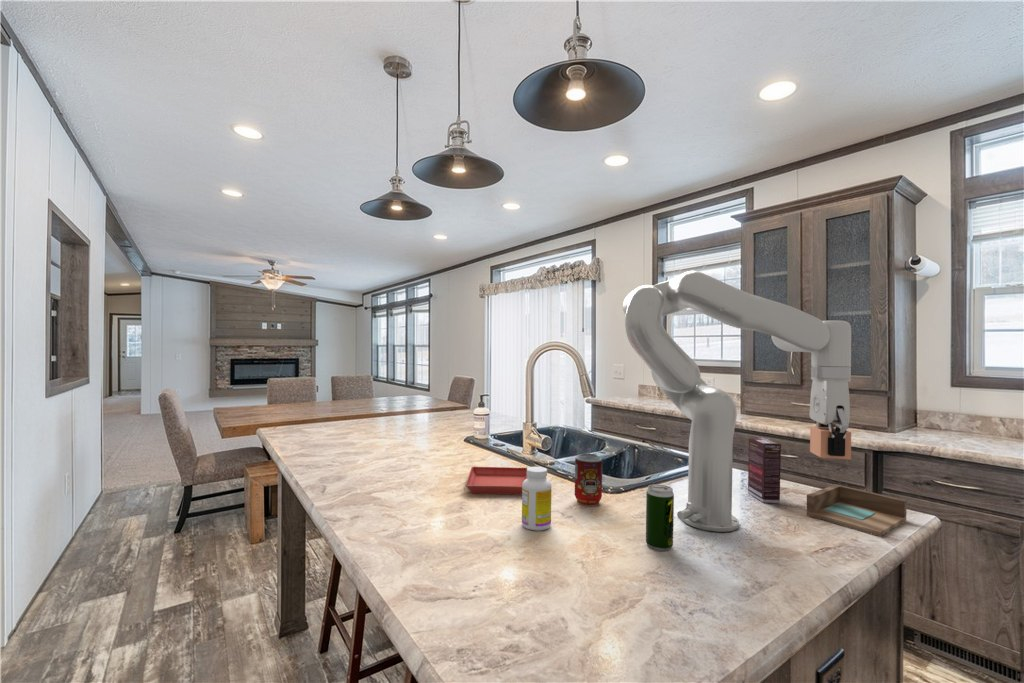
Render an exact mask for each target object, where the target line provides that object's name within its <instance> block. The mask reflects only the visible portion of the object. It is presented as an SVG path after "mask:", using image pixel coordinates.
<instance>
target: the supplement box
mask: <svg viewBox="0 0 1024 683" xmlns="http://www.w3.org/2000/svg"><path fill="white" fill-rule="evenodd" d="M781 450H782V443H779V442H776V441H773V440H771V439H768V438H766V437H757V436H755V437H753V436H751V437H748V463H747V464H748V466H747V468H748V472H747V476H748V477H747V494H749V495H751V496H752V497H754V498H755V499H757V500H759V501H760V502H761V503H766V504H780V503H781V462H782V461H781V460H782V458H781V456H782V453H781V452H782V451H781Z"/></svg>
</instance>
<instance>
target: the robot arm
mask: <svg viewBox="0 0 1024 683" xmlns="http://www.w3.org/2000/svg"><path fill="white" fill-rule="evenodd" d="M622 309H623V310H622V311H623V313H624V315H625V318H624V327H625V333H626V338H627V340H628V342H629V344H630V346H631V347H632V349H633V350H634V352H635V353H636V354H637V355H638V357H639V358H641V360H642V361H643V363H644V364H646V366H647V367H648V369H650V370H651V372H650V373H651V377H652V379H653V381H654V383H655V384H656V386H657V387H658V388H659V389H660V390H661V391H662V392H663V394H664V395H665V396H666V397H667V398H669V400H670V401H671V402H672V403H673V405H675V407H677V409H678V410H679V411H680V412H681V413H682V414H683V415H684V416H685V417H686V418H688V419H689V420H691V425H690V430H689V438H688V471H687V472H688V476H687V477H688V478H687V479H688V480H687V481H688V482H687V484H688V485H687V502H686V505H685V506H686V507H685V509H682V510H679V511H677V514H676V516H677V519H679V520H680V521H682V522H684V523H685V524H687V525H689V526H690V527H693V528H696V529H699V530H703V531H709V532H717V533H726V532H728V533H729V532H733V531H735V530H737V529H739V526H740V521H739V520H738V518H737V517H736V516H734V515H733V511H732V509H733V507H732V506H733V504H732V503H733V466H734V465H733V463H734V462H733V460H734V458H733V451H734V448H733V446H734V434H735V429H736V423H737V415H738V414H737V411H738V410H737V407H736V403H735V401H734V400H733V398H732V397H731V395H730V394H728V392H726V391H724V390H722V389H720V388H716V387H713V386H710V385H708V384H707V383H706V382H705V380H704V379H702V377H701V370H700V368H699V366H698V364H697V363H696V361H695V360H694V359H692V357H691V356H690V355H688V354H687V352H685V351H684V349H682V347H680V345H679V344H678V343H677V342H676V341H674V339H673V338H672V336H670V334H669V332H668V331H667V330H666V329H665V327H664V324H663V320H662V319H663V318H662V317H666V316H668V315H671V314H674V313H678V312H680V311H683V310H686V309H692V310H693V311H695V312H699V313H700V314H704V315H705V316H708V317H710V318H712V319H714V320H716V321H718V322H720V323H723V324H724V325H727V326H729V327H733V328H736V329H740V330H747V331H754V332H759V333H763V334H766V335H768V336H771V341H772V343H773V344H774V346H776V347H777V348H778V349H780V350H782V351H785V352H792V353H793V352H795V353H811V356H810V357H811V361H810V363H811V365H810V366H811V368H810V372H811V373H810V374H811V375H810V376H811V378H810V379H811V381H812V383H811V387H810V388H811V389H810V402H809V419H811V420H812V421H814V423H815V427H829V433H830V437H828V455H830V456H845V439H846V432H847V431H848V428H849V426H850V425H849V424H850V417H851V414H850V413H851V408H850V407H851V405H850V404H851V403H850V401H851V400H850V391H849V389H850V388H849V382H851V381H852V375H851V374H852V372H851V370H852V369H851V368H852V326H851V324H850V322H848V321H846V320H835V319H834V320H833V319H832V320H831V319H830V320H821V319H820V318H818V317H816V316H814V315H812V314H809V313H807V312H805V311H804V310H803V311H802V310H800V309H798V308H796V307H793V306H792V305H788V304H785V303H781V302H779V301H775V300H772V299H768V298H765V297H763V296H759V295H756V294H751V293H749V292H746V291H744V290H742V289H739V288H737V287H736V286H733V285H731V284H728V283H726V282H723V281H722V280H719V279H717V278H714V277H713V276H710V275H709V274H707V273H703V272H701V271H698V270H697V271H696V270H690V271H685V272H682V273H681V274H680V275H677V276H676V277H673V278H671V279H668V280H666V281H663V282H659V283H656V284H653V285H650V284H643V285H641V286H638V287H636V288H635V289H633V290H632V291H630V292H629V293H628V294H627V295H626V296H625V298H624V300H623V302H622ZM834 428H836V429H835V431H834Z"/></svg>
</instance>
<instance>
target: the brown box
mask: <svg viewBox="0 0 1024 683" xmlns="http://www.w3.org/2000/svg"><path fill="white" fill-rule="evenodd" d="M833 428H834V431H835V429H836V427H833ZM809 429H810V430H809V431H810V432H809V435H810V437H809V442H810V443H809V453H812V454H813V455H816V456H817V457H819V458H822V459H837V460H838V459H839V460H852V432H851V431H848V430H846V431H847V432H846V439H845V456H830V455H828V437H830V433H829V427H816V426H810V428H809Z"/></svg>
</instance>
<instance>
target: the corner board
mask: <svg viewBox="0 0 1024 683" xmlns="http://www.w3.org/2000/svg"><path fill="white" fill-rule="evenodd" d="M907 503H908V502H907V500H906V499H902V498H898V497H895V496H891V495H890V496H889V495H885V494H881V493H876V492H872V491H867V490H863V489H859V488H854V487H849V486H846V485H841V484H836V483H835V484H832V485H829V486H826V487H825V488H822V489H819V490H816V491H814V492H811V493H809V494H806V512H805V514H806V516H808V517H812V518H815V519H819V520H821V519H822V521H826V522H828V523H832V524H835V523H836V525H839V526H842V525H843V527H846V528H849V527H850V529H852V528H853V530H856V529H857V530H856V531H859V530H861V531H860V532H863V531H864V533H866V532H868V534H870V533H872V534H871V535H873V534H875V535H874V536H877V535H879V536H878V537H880V536H881V537H882V535H883V534H884V535H886V534H887V533H889V532H890V531H889V530H891V529H892V530H894V529H896V528H897V527H899V526H900V524H901V525H903V524H904V523H906V522H907V514H908V513H907V512H908V511H907V510H908V509H907V507H908V506H907V505H908V504H907ZM903 522H904V523H903ZM898 525H899V526H898ZM896 526H897V527H896ZM895 527H896V528H895ZM893 528H894V529H893ZM892 530H891V531H892ZM888 531H889V532H888ZM886 532H887V533H886ZM885 533H886V534H885ZM884 535H883V536H884Z"/></svg>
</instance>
